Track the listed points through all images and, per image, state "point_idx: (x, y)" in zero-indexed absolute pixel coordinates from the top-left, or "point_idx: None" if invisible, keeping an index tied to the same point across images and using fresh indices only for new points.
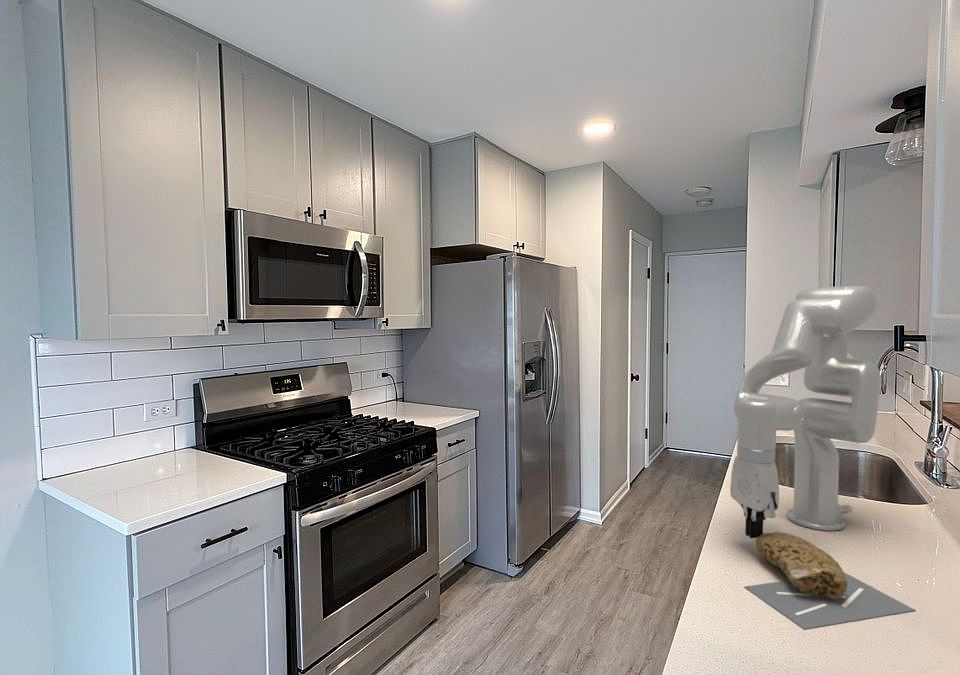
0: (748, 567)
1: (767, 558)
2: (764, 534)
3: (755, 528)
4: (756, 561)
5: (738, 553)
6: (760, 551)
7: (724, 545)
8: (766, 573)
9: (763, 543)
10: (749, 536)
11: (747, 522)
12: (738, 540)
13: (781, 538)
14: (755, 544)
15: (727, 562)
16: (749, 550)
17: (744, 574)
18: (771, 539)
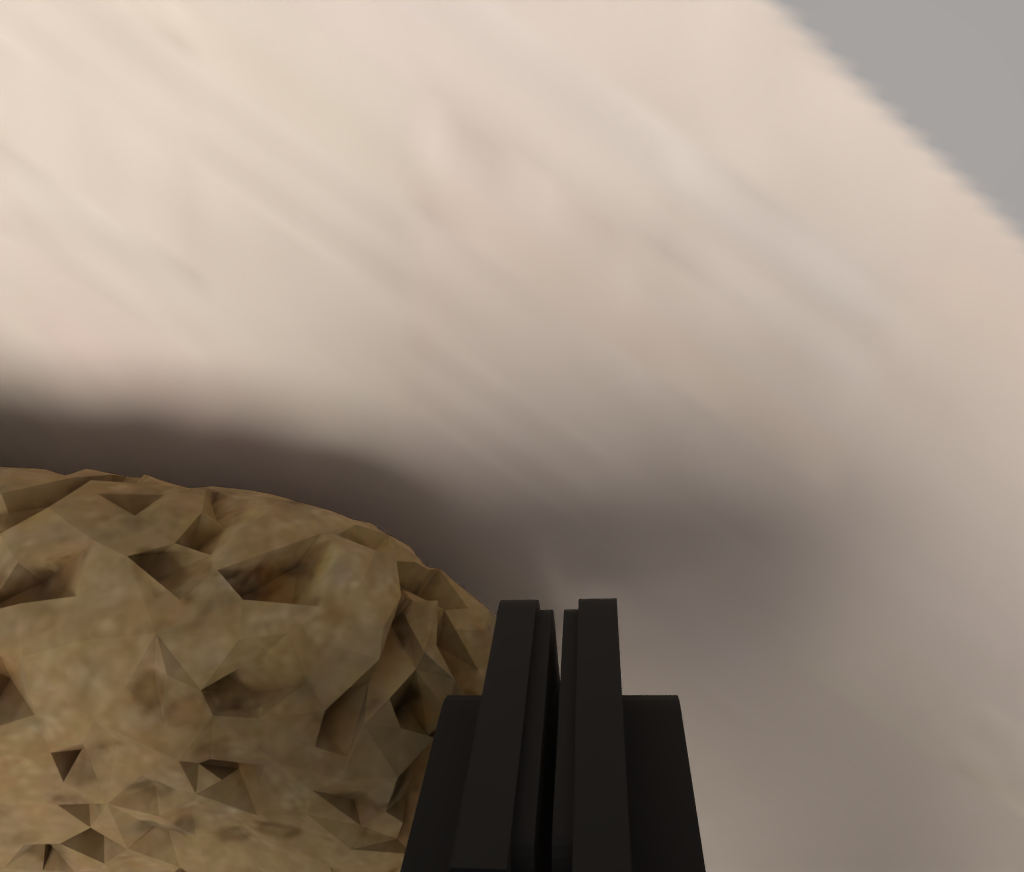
0: (207, 240)
1: (88, 473)
2: (327, 770)
3: (439, 773)
4: (356, 429)
5: (573, 356)
6: (192, 488)
7: (831, 320)
8: (81, 352)
9: (85, 580)
10: (519, 601)
11: (578, 790)
12: (898, 575)
13: (149, 863)
14: (364, 549)
15: (339, 29)
16: (623, 527)
17: (16, 62)
18: (19, 723)
